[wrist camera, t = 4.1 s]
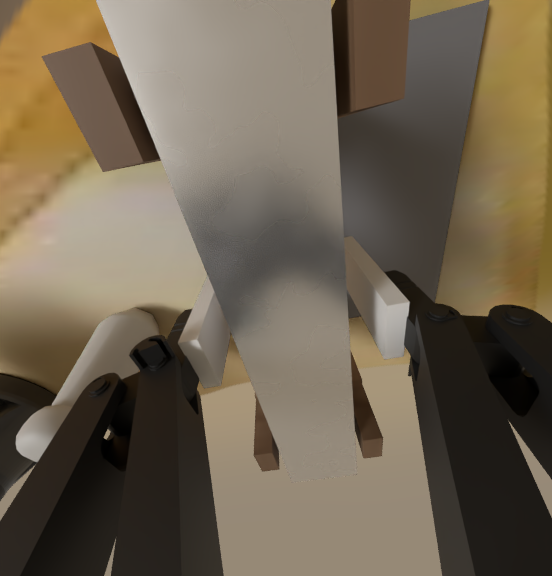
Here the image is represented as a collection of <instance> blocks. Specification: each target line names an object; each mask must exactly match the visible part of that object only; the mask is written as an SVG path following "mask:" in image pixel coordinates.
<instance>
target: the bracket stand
mask: <svg viewBox="0 0 552 576" xmlns="http://www.w3.org/2000/svg"><path fill="white" fill-rule="evenodd" d="M410 1H411V0H336V1H335V3H334V5H333V7H332V9H331V16H332V33H333V51H334V69H335V87H336V105H337V118H341V117H344V116H348V115H351V114H354V113H357V112H361V111H364V110H367V109H371V108H374V107H377V106H381V105H384V104H388V103H391V102H394V101H398V100H401V99H404V96H405V80H406V64H407V48H408V33H409V17H410ZM42 58H43V60H44V62H45V64H46V66H47V68H48V70H49V71H50V73H51V75H52V77H53V79H54V81H55V83H56V85H57V86H58V88H59V90H60V92H61V94H62V96H63V98H64V100H65V101H66V103H67V105H68V107H69V109H70V111H71V113H72V115H73V117H74V118H75V120H76V122H77V124H78V126H79V128H80V130H81V132H82V133H83V135H84V137H85V139H86V141H87V143H88V145H89V147H90V148H91V150H92V152H93V154H94V156H95V158H96V160H97V162H98V164H99V165H100V167H101V169H102V171H103V172H105V171H110V170H115V169H120V168H125V167H130V166H135V165H140V164H145V163H150V162H155V161H161V159H160V157H159V154H158V152H157V149H156V147H155V144H154V142H153V139H152V137H151V134H150V132H149V129H148V127H147V124H146V122H145V120H144V117H143V115H142V112H141V110H140V107H139V105H138V102H137V100H136V97H135V95H134V92H133V90H132V88H131V85H130V83H129V80H128V78H127V75H126V73H125V70H124V68H123V65H122V63H121V60H120V58H119V57H117V56H115V55H113V54H111V53H109V52H108V51H106V50H104V49H102V48H100V47H98V46H97V45H95V44H93V43H91V42H89V43H86V44H82V45H79V46H76V47H72V48H69V49H65V50H62V51H58V52H55V53H52V54H48V55H45V56H42ZM350 354H351V372H352V390H353V408H354V425H355V432H356V435H357V438H358V442H359V445H360V448H361V451H362V455H363V458H371V457H379V456H382V445H383V444H382V443H383V437H382V434H381V432H380V429H379V427H378V424H377V421H376V419H375V416H374V414H373V411H372V409H371V406H370V404H369V401H368V398H367V396H366V393H365V390H364V388H363V385H362V379H361V376H360V373H359V371H358V368H357V366H356V363H355V361H354V358H353V355H352V353H351V350H350ZM255 398H256V416H255V439H254V457H255V458H256V460H257V462H258V464H259V466H260V468H261V470H262V471H270V470H278V469H279V450H278V447H277V445H276V442H275V440H274V437H273V435H272V432H271V430H270V427H269V425H268V422H267V420H266V418H265V415H264V413H263V410H262V408H261V405H260V403H259V400H258V398H257V395H256V393H255Z"/></svg>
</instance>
